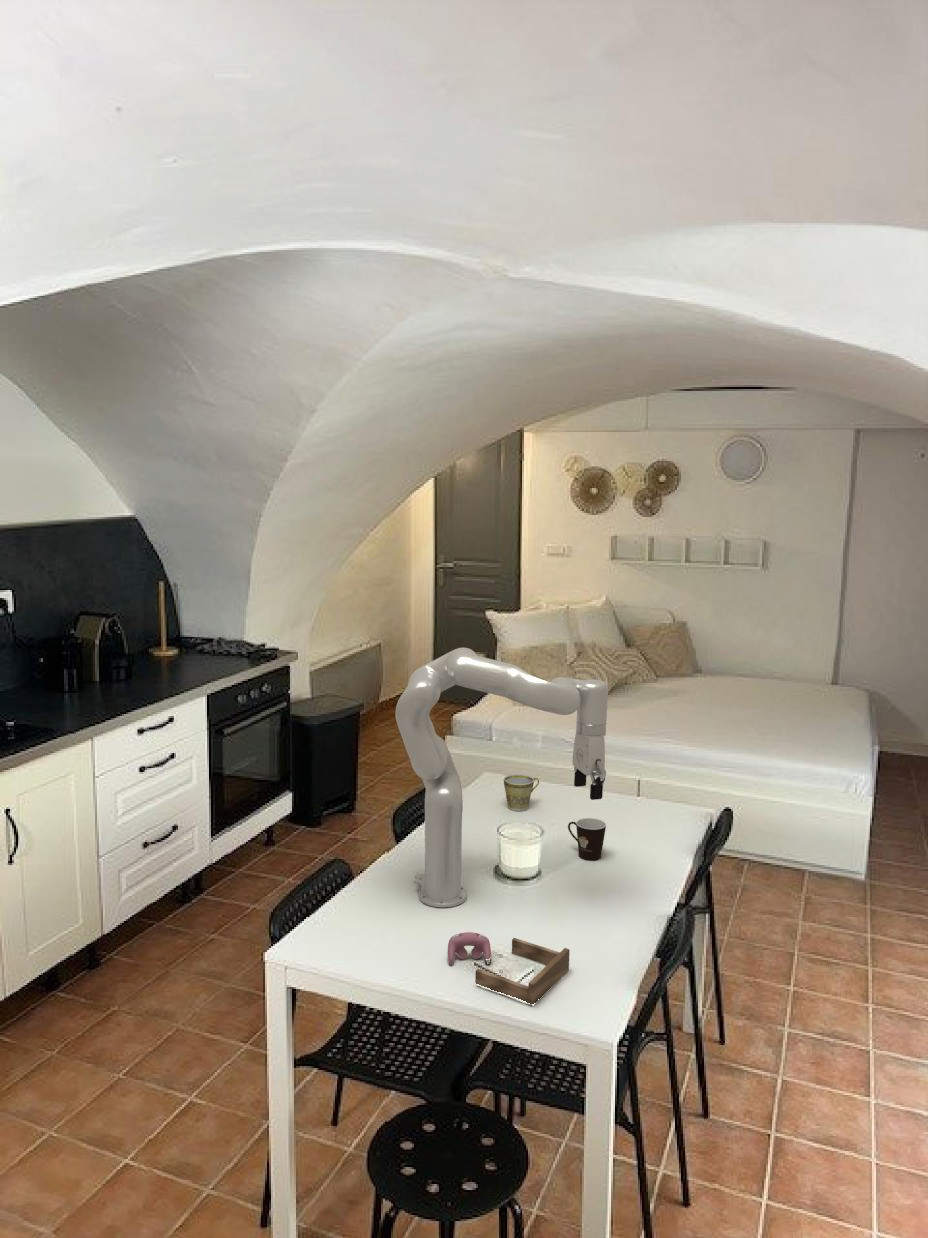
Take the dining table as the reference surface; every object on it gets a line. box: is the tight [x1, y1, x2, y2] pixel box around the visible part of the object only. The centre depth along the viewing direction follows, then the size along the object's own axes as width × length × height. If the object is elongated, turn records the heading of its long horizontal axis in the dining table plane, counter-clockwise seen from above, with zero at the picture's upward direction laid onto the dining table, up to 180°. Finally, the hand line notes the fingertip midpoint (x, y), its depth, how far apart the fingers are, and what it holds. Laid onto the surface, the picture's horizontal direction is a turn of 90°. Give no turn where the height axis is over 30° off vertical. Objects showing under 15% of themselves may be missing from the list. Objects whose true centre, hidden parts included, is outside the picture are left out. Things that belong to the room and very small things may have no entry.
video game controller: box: [447, 931, 492, 966], centre depth 209 cm, size 10×5×7 cm, turn 92°
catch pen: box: [474, 937, 570, 1004], centre depth 202 cm, size 14×17×5 cm
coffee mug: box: [567, 817, 607, 862], centre depth 266 cm, size 12×9×10 cm
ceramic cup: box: [503, 773, 540, 813], centre depth 303 cm, size 13×10×10 cm
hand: (587, 792), depth 236 cm, fingers open, 9 cm apart
